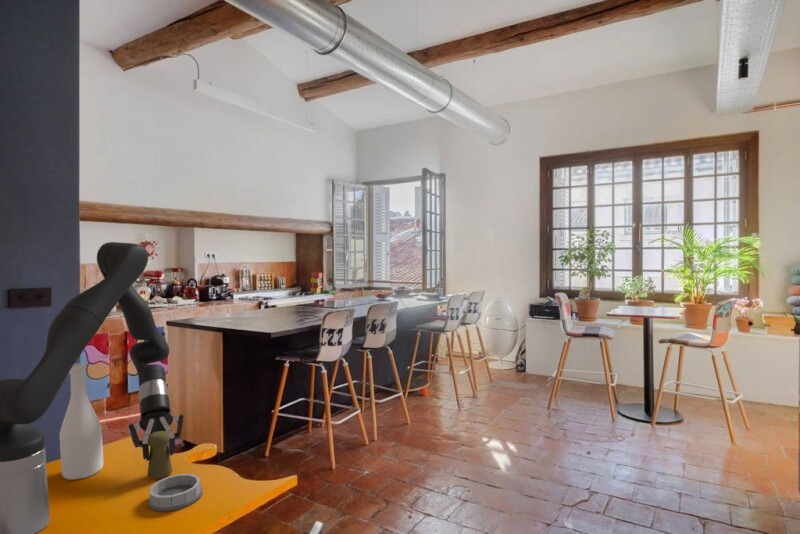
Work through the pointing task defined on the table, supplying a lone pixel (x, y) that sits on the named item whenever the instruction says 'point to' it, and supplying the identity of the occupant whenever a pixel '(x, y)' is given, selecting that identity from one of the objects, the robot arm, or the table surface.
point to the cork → (159, 455)
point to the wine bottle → (80, 432)
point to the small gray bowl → (175, 493)
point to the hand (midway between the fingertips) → (160, 456)
